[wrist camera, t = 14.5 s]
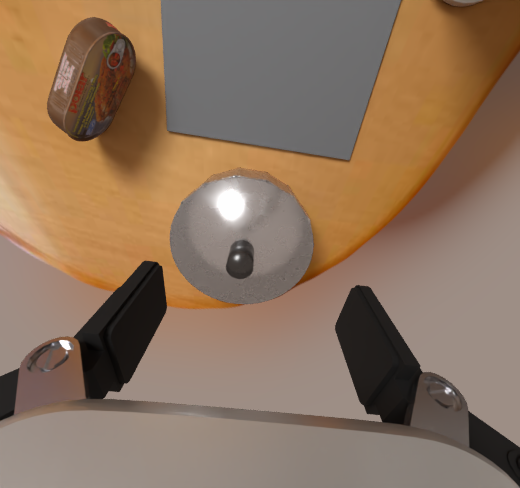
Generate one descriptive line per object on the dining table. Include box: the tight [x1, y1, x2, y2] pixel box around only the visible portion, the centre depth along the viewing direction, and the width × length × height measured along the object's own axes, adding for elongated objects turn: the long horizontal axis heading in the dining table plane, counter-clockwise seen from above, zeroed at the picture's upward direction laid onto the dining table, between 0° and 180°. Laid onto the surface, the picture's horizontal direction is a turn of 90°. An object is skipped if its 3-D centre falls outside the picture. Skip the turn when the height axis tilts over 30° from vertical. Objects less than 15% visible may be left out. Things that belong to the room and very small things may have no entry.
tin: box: [47, 17, 136, 141], centre depth 28 cm, size 15×3×8 cm, turn 139°
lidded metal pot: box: [170, 167, 314, 304], centre depth 37 cm, size 24×24×13 cm
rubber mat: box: [161, 0, 401, 160], centre depth 29 cm, size 30×26×1 cm
